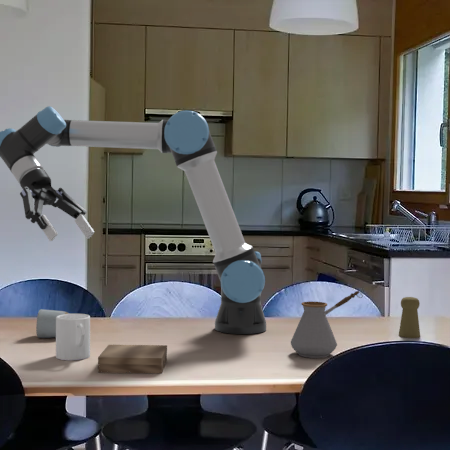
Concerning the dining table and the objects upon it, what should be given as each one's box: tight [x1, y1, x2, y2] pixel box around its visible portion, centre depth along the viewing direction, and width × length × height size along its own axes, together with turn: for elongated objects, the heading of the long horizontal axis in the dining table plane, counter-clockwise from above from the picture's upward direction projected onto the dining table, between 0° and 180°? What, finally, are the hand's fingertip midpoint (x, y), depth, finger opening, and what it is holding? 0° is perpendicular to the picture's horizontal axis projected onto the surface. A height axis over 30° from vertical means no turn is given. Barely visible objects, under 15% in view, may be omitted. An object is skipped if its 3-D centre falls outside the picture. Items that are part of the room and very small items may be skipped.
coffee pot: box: [290, 290, 363, 359], centre depth 176 cm, size 21×12×15 cm, turn 123°
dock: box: [97, 344, 168, 374], centre depth 160 cm, size 14×13×4 cm
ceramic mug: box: [35, 309, 69, 339], centre depth 193 cm, size 11×8×8 cm
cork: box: [398, 296, 421, 339], centre depth 198 cm, size 6×6×11 cm
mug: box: [55, 313, 91, 361], centre depth 167 cm, size 8×12×10 cm, turn 30°
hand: (73, 236), depth 179 cm, fingers open, 13 cm apart
